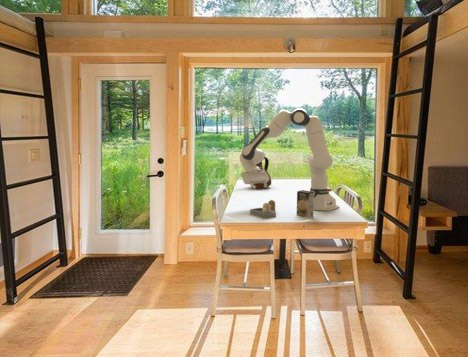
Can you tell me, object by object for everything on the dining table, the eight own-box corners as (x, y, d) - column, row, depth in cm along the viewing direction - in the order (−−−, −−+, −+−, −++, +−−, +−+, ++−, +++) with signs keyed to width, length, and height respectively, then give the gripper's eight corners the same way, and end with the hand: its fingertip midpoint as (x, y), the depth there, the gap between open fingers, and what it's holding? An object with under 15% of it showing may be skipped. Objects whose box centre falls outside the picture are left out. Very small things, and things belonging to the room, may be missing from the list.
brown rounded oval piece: (272, 211, 244) (272, 199, 242) (276, 212, 239) (276, 200, 238) (266, 212, 241) (266, 199, 240) (270, 213, 237) (271, 201, 236)
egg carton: (260, 212, 239) (260, 207, 239) (275, 217, 226) (275, 212, 225) (250, 214, 235) (250, 209, 234) (264, 219, 221) (265, 214, 221)
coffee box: (295, 216, 230) (296, 191, 228) (301, 214, 235) (302, 189, 232) (308, 218, 224) (308, 193, 222) (313, 216, 228) (314, 191, 226)
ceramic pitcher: (245, 187, 338) (245, 155, 334) (260, 185, 351) (261, 154, 347) (260, 190, 323) (260, 157, 319) (275, 188, 336) (276, 155, 332)
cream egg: (267, 214, 230) (267, 201, 229) (271, 216, 226) (271, 203, 225) (260, 215, 228) (261, 202, 227) (265, 217, 224) (265, 204, 223)
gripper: (241, 169, 247) (250, 185, 240) (265, 168, 258) (274, 183, 251) (238, 175, 251) (246, 191, 245) (261, 173, 262) (269, 188, 256)
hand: (260, 187), depth 248 cm, fingers open, 8 cm apart
